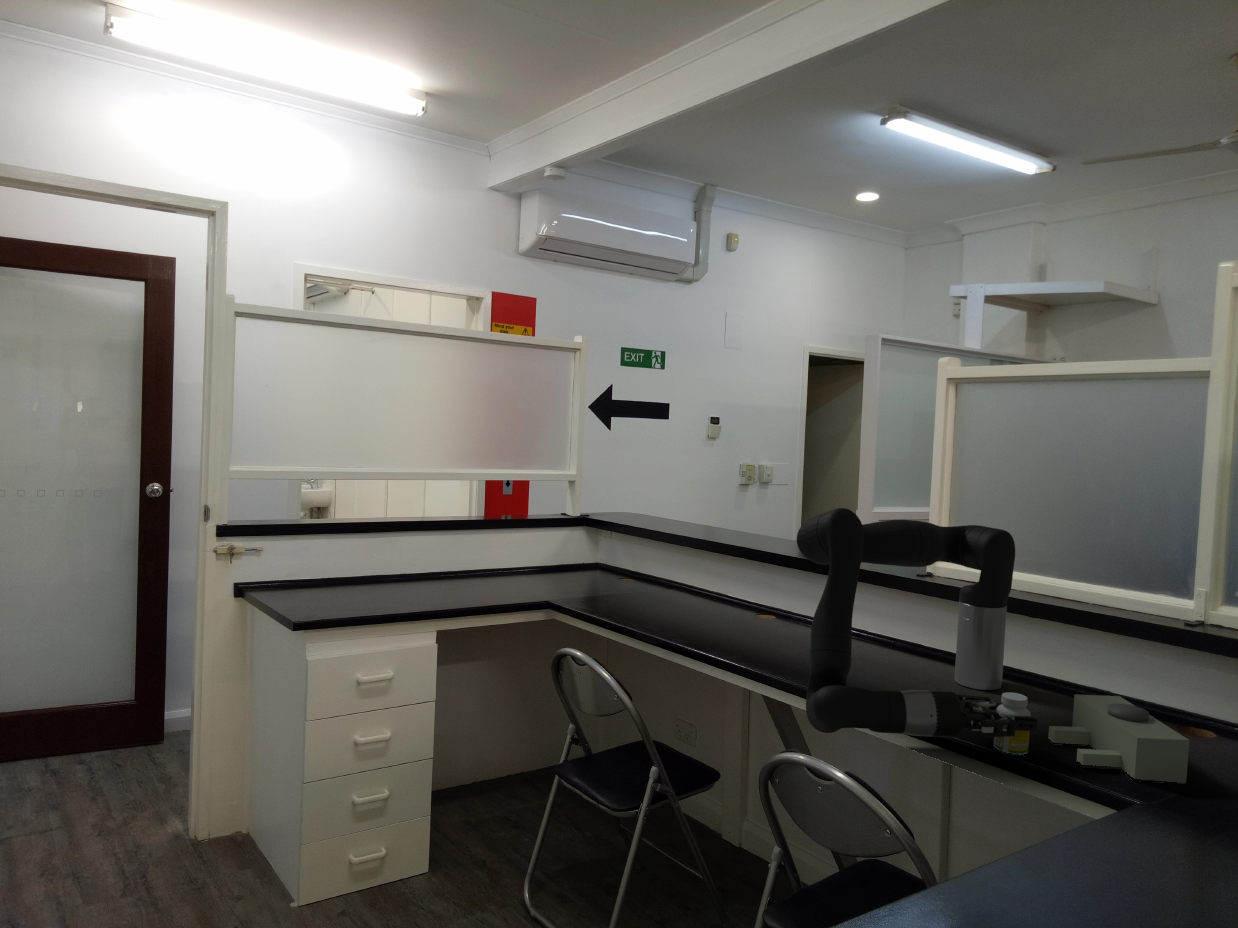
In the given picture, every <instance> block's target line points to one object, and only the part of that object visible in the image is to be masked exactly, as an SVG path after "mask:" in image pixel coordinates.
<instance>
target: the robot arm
mask: <svg viewBox="0 0 1238 928" xmlns="http://www.w3.org/2000/svg"><path fill="white" fill-rule="evenodd" d="M796 545H797V548H798V549H799V552H800V553H801V554H802V555H803V556H804V557H805V558H806V559H807V560H808V561H809V562H812V563H813V564H817V565H822V566H826V565H829V567H828V574H827V580H826V584H825V586H824V590H823V592H822V595H821V597H820V598H819V599H820V600H819V602H818V604H817V607H816V610H815V612H814V615H813V617H812V622H811V628H810V629H811V630H810V653H809V654H810V655H809V657H810V658H809V659H810V667H809V669H810V670H809V674H808V675H809V676H808V681H807V690H806V698H805V714H806V718H807V720H808V722H809V723H810V725H811V727H812V728H813V729H815V730H817V731H818V732H820V733H825V734H831V733H835V732H838V731H839V730H841V729H867V730H869V731H870V732H874V733H879V734H881V733H882V734H902V735H909V736H916V737H935V738H938V737H939V738H957V737H958V736H959V735H960V734H961V731H962V730H963V729H965V728H966V729H968V730H971V731H974V732H975V731H976V732H979V731H980V732H979V736H980V737H983V738H994V737H1009V736H1015V730H1021V731H1030V732H1036V731H1037V730H1038V723H1039V719H1038V718H1037V717H1035V716H1032V715H1031V716H1012V715H1005V714H1000V712H999V711H998V710H996V709H997V707H998V706H999V705H1001V704H1002V702H999V701H996V700H991V698H990V697H988V696H986V697H985V696H979V695H978V696H975V695H967V694H957V693H956V692H954V691H952V690H951V691H950V690H948V691H947V690H929V689H928V690H924V689H923V690H922V689H908V690H889V689H887V690H885V689H882V690H881V689H880V690H879V689H878V690H875V689H874V690H872V689H871V690H870V689H866V688H863V687H856V686H855V687H854V686H850V685H849V686H848V685H847V681H848V680H847V679H848V675H849V673H850V670H851V667H852V649H853V648H852V644H853V643H852V640H853V639H852V634H853V633H852V630H853V626H852V625H853V623H852V622H853V616H854V615H853V614H854V606H855V599H856V593H857V588H858V583H859V577H860V576H859V575H860V571H861V569H860V568H861V564H862V563H865V564H872V565H881V566H883V565H884V566H895V567H896V566H897V567H908V568H922V567H923V568H924V567H928V566H931V565H934V564H936V563H938V562H942V563H949V564H953V565H958V566H961V567H965V568H969V569H973V570H978V571H980V574H979V579H978V581H977V582H976V583H974V584H969V585H964V586H962V587H961V588H959V589H960V590H959V595H958V614H957V615H958V616H957V619H958V620H957V632H956V633H957V635H956V650H955V651H956V652H955V662H954V663H955V664H954V666H955V667H954V681H955V682H956V683H957V684H959V685H960V686H963V687H966V688H970V689H974V690H981V691H994V690H995V691H997V690H1000V689H1001V688H1002V687H1003V686H1002V685H1003V671H1004V657H1005V656H1004V655H1005V641H1006V640H1005V639H1006V626H1007V625H1006V624H1007V609H1008V599H1009V596H1010V593H1011V590H1012V584H1013V578H1014V576H1013V575H1014V569H1015V560H1016V544H1015V540H1014V537H1013V535H1012V534H1011V533H1010V532H1009V531H1007V530H1005V529H1000V528H996V527H992V526H991V527H990V526H984V525H978V524H969V525H968V524H967V525H957V526H940V525H936V524H934V523H931V522H927V521H920V520H912V519H888V520H883V521H875V522H869V523H864V524H862V521H861V519H860V518H859V516H858V515H857V514H856V513H855V512H853V510H851V509H848V508H844V507H840V508H839V507H838V508H834V509H831V510H828V511H825V512H823V513H820V514H818V515H816V516H813V517H811V518H809V519H808V520H806V521H805V522H804V523H803V524H802V525H801V526H800V527H799V528H798V531H797V534H796ZM992 718H994V719H992ZM999 719H1001V720H999ZM1004 725H1007V726H1004Z"/></svg>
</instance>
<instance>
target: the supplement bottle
mask: <svg viewBox="0 0 1238 928" xmlns="http://www.w3.org/2000/svg"><path fill="white" fill-rule="evenodd" d="M1000 701H1001V703H1002V704H1001V705H999V706H998V707H997V709H996V710H998V711H999V712H1000V714H1005V715H1012V716H1032V715H1031V712H1030V710H1029V709H1027V706H1028V704H1029V700H1028V696H1025V695H1024V694H1021V693H1017V692H1010V691H1009V692H1003V693H1002V694H1001V699H1000ZM999 720H1001V719H999ZM1004 726H1007V725H1004ZM1030 732H1031V731H1021V730H1015V736H1009V737H993V748H994V747H995V748H997V749H998V750H1001V751H1003V752H1006V753H1012V754H1019V755H1022V754H1023V755H1024V754H1027V753H1028V754H1029V745H1030V734H1031V733H1030ZM995 748H994V749H995ZM1028 754H1027V755H1028Z"/></svg>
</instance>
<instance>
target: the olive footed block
mask: <svg viewBox="0 0 1238 928" xmlns="http://www.w3.org/2000/svg"><path fill="white" fill-rule="evenodd" d="M1071 725H1072V726H1060V725H1049V727H1048V738H1047V739H1050V740H1051V741H1052V742H1054V743H1066V744H1068V743H1069V744H1086V745H1088V744H1089V745H1090V746H1091V747H1093V748H1094V749H1092V748H1091V747H1090V746H1089V747H1090V748H1077V750H1076V762H1077V761H1078V762H1080V763H1081V764H1082V765H1093V766H1095V765H1096V766H1108V767H1109V766H1111V767H1121V768H1122V769H1123V770H1124V771H1125V772H1127V774H1129V775H1130V776H1131V777H1133V778H1134V779H1141V780H1155V781H1167V782H1177V783H1176V784H1187V777H1188V776H1187V774H1188V764H1189V750H1190V739H1189V738H1187V737H1185V736H1183V734H1180V733H1179V732H1178V731H1176V730H1175V729H1172V728H1171V727H1170V726H1168V725H1166V724H1165V723H1163V722H1162V721H1160V720H1159V719H1156V718H1155V717H1154V716H1152V715H1150V712H1149V711H1148V710H1146V709H1145V708H1142V707H1139V706H1136V705H1134V704H1133V703H1131V702H1130V701H1128V700H1126V699H1125V698H1123V697H1122V696H1120V695H1102V694H1101V695H1099V694H1097V695H1094V694H1074V697H1073V711H1072V724H1071ZM1051 741H1050V742H1051ZM1052 742H1051V743H1052ZM1086 745H1085V746H1086ZM1095 749H1096V750H1095Z"/></svg>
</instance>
